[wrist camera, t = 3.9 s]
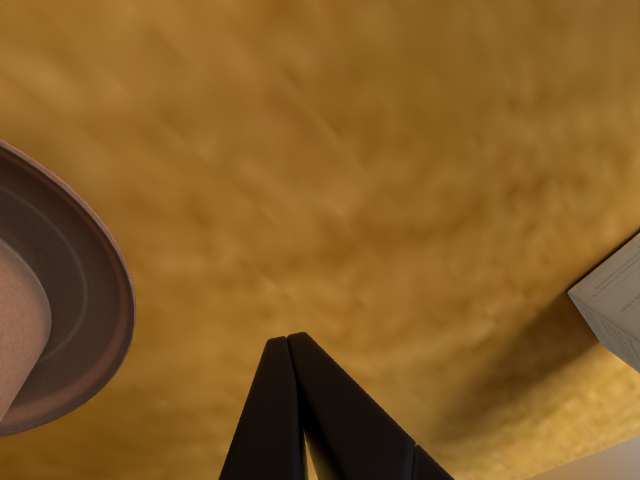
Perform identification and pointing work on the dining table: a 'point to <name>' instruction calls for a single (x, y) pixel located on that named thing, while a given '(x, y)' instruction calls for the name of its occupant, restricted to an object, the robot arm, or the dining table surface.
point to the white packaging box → (614, 302)
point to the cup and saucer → (55, 297)
